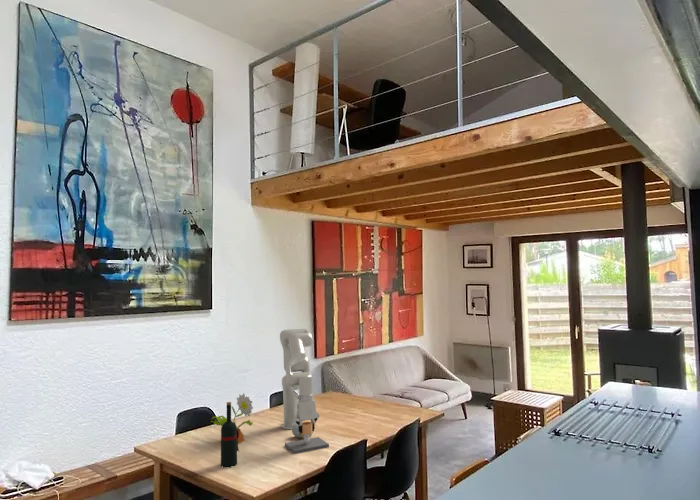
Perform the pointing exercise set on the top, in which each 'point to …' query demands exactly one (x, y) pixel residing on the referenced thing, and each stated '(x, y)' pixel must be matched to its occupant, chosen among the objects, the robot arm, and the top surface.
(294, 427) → the ceramic mug
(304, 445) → the post base
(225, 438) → the wine bottle
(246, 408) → the decorative plant
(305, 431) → the collar
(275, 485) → the top surface
